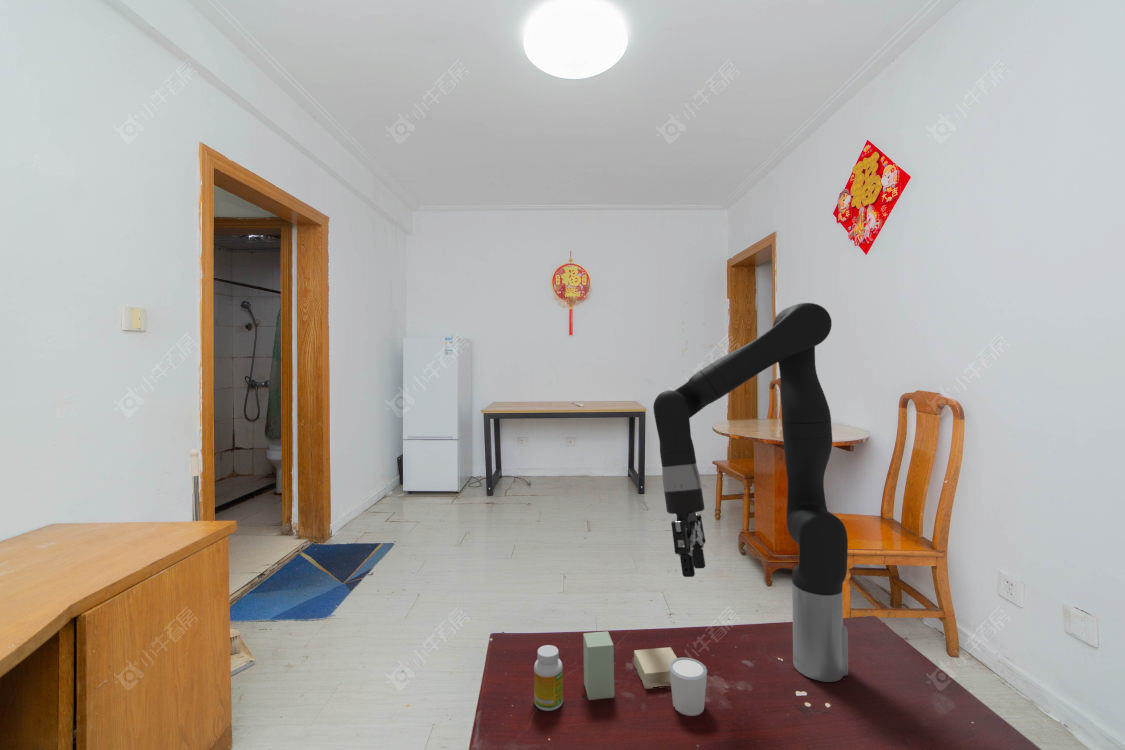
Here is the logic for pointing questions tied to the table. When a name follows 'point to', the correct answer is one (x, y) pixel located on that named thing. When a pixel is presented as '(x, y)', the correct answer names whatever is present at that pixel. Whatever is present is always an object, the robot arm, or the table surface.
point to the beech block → (654, 666)
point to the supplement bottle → (548, 679)
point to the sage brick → (598, 665)
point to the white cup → (688, 685)
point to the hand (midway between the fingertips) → (694, 572)
